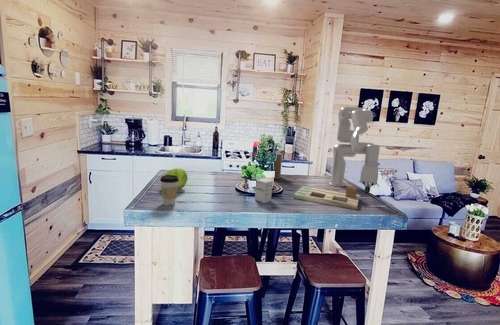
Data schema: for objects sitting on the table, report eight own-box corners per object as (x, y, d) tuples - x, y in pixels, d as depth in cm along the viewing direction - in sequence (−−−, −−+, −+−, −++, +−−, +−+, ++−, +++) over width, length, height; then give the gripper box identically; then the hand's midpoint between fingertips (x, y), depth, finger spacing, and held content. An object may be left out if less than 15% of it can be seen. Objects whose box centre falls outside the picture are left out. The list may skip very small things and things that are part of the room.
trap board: (302, 189, 213) (302, 185, 212) (358, 198, 199) (359, 195, 198) (293, 198, 191) (294, 194, 190) (356, 209, 177) (357, 205, 176)
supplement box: (254, 200, 181) (255, 179, 179) (261, 197, 187) (263, 178, 184) (263, 203, 177) (265, 182, 174) (271, 200, 182) (273, 180, 180)
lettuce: (161, 194, 179) (162, 172, 177) (163, 185, 199) (163, 165, 196) (188, 194, 183) (188, 172, 181) (186, 185, 202) (187, 165, 200)
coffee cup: (163, 199, 170) (163, 174, 167) (180, 201, 170) (181, 175, 167) (157, 205, 160) (157, 178, 158) (175, 207, 160) (176, 179, 157)
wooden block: (279, 179, 235) (281, 154, 231) (266, 178, 237) (268, 153, 233) (280, 176, 245) (282, 152, 241) (268, 175, 247) (270, 151, 243)
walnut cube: (346, 194, 198) (347, 185, 197) (355, 195, 196) (357, 187, 195) (345, 196, 193) (346, 187, 192) (355, 198, 191) (356, 189, 190)
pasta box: (251, 176, 239) (254, 141, 234) (261, 177, 239) (264, 142, 234) (250, 185, 212) (253, 146, 206) (261, 186, 212) (264, 147, 206)
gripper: (383, 164, 188) (379, 193, 191) (358, 161, 193) (354, 189, 196) (384, 166, 181) (379, 196, 184) (357, 163, 186) (354, 192, 189)
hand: (366, 192), depth 190 cm, fingers closed
